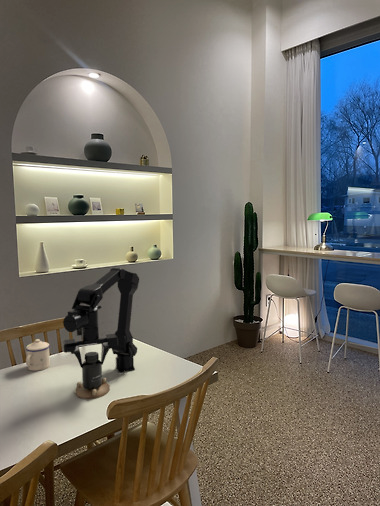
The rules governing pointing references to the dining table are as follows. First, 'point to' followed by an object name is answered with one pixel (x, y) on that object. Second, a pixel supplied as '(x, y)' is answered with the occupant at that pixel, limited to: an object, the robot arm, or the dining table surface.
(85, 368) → the supplement bottle
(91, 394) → the dowel base
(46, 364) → the teacup with lid
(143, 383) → the dining table surface
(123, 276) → the robot arm
